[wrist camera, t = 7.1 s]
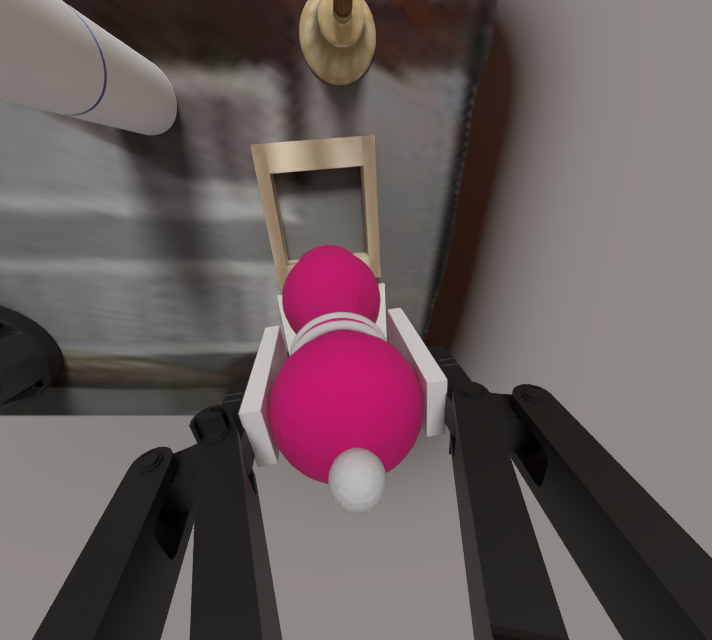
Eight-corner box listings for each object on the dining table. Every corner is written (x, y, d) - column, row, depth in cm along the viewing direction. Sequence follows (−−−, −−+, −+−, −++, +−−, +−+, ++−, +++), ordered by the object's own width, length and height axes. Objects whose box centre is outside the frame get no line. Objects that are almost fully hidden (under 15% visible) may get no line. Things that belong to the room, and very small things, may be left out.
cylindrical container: (168, 147, 35) (-97, 97, 12) (99, 113, 33) (-372, -22, 10) (184, 80, 32) (-113, -134, 10) (110, 38, 30) (-477, -352, 8)
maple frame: (282, 281, 43) (279, 288, 41) (255, 147, 36) (250, 144, 33) (376, 270, 44) (380, 277, 42) (370, 137, 37) (374, 135, 34)
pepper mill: (382, 296, 27) (510, 522, 10) (313, 330, 28) (311, 603, 10) (347, 223, 24) (443, 356, 6) (270, 263, 25) (157, 488, 7)
